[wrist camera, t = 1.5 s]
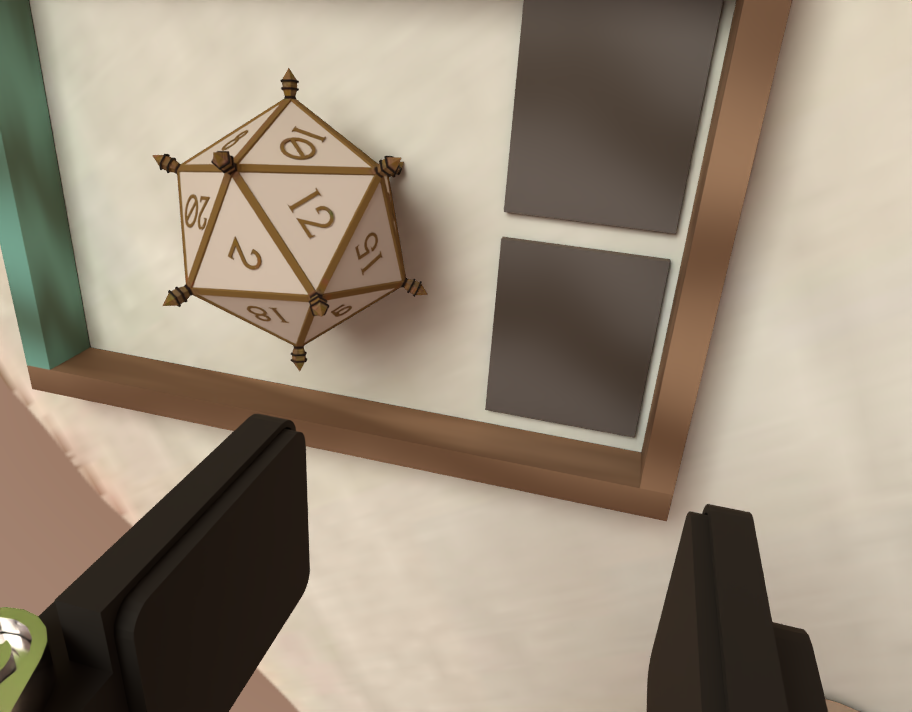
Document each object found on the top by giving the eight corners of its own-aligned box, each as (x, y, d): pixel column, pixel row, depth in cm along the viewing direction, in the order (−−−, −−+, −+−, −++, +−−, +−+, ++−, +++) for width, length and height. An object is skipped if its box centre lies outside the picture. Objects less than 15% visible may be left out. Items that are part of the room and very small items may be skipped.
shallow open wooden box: (666, 483, 29) (666, 521, 26) (72, 365, 34) (32, 388, 32) (796, -76, 20) (813, -89, 18) (-19, -109, 26) (-81, -122, 24)
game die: (353, 219, 32) (152, 343, 27) (301, 21, 26) (33, 138, 21) (503, 298, 27) (286, 466, 22) (481, 73, 21) (179, 242, 16)
